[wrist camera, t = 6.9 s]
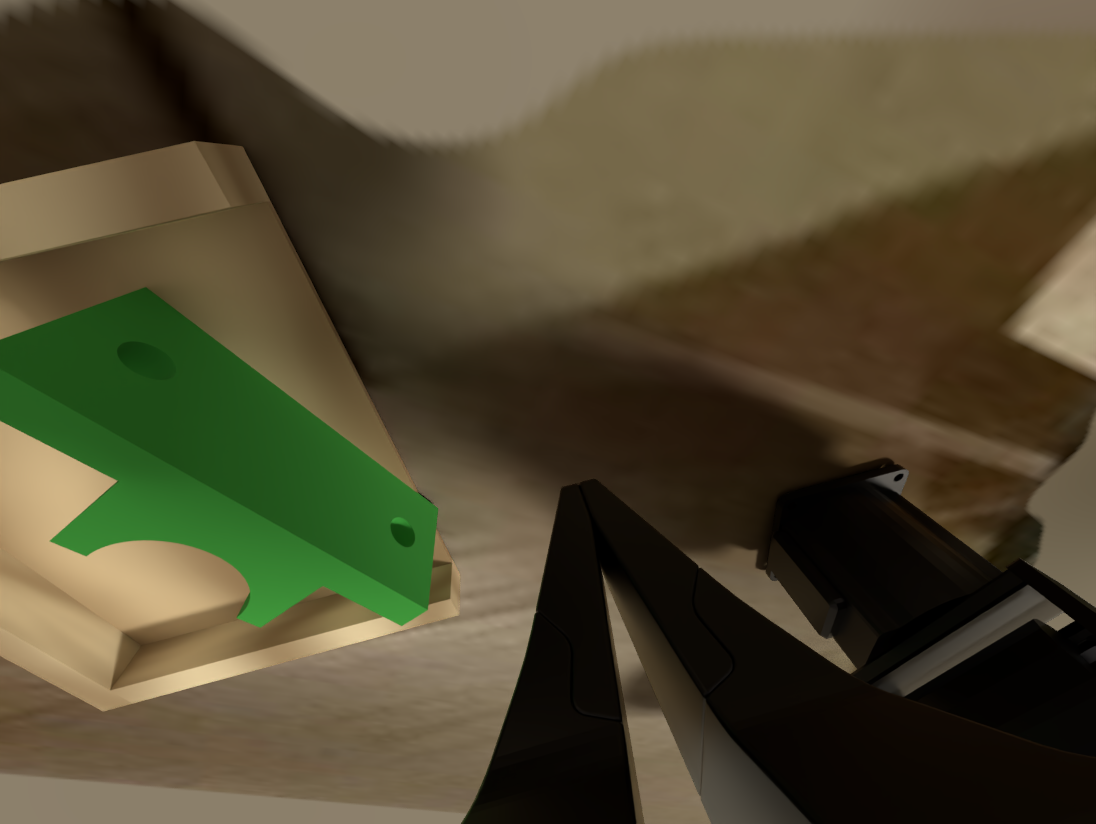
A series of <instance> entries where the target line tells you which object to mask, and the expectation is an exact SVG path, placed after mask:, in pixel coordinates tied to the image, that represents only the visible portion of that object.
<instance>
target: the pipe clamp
mask: <svg viewBox="0 0 1096 824" xmlns="http://www.w3.org/2000/svg"><path fill="white" fill-rule="evenodd" d="M0 421H1V422H3V423H5V424H7V425H9V426H11V427H13V428H15V429H17V430H19V431H21V432H23V433H25V434H27V435H29V436H30V437H32V438H34V439H36V440H38V441H40V442H42V443H44V444H46V445H48V446H50V447H52V448H54V449H56V450H58V451H60V452H62V453H64V454H66V455H68V456H70V457H72V458H74V459H75V460H77V461H79V462H81V463H83V464H85V465H87V466H89V467H91V468H93V469H95V470H97V471H99V472H101V473H103V474H105V475H107V476H109V477H111V478H113V479H115V480H117V482H116V483H115V484H113V485H112V486H111V487H110V488H109V489H108V490H107V491H106V492H104V493H103V494H102V495H101V496H100V497H99V498H98V499H96V500H95V501H94V502H93V503H92V504H91V505H90V506H88V507H87V508H86V509H85V510H84V511H83V512H82V513H81V514H79V515H78V516H77V517H76V518H75V519H74V520H73V521H71V522H70V523H69V524H68V525H67V526H66V527H65V528H63V529H62V530H61V531H60V532H59V533H58V534H57V535H56V536H54V537H53V538H52V539H51V540H50V542H52V543H54V544H57V545H59V546H62V547H64V548H67V549H69V550H72V551H74V552H76V553H79V554H81V555H84V556H88V555H89V554H91V553H92V552H94V551H96V550H98V549H100V548H103V547H105V546H109V545H112V544H116V543H121V542H129V541H142V540H146V541H165V542H172V543H178V544H183V545H187V546H191V547H194V548H197V549H200V550H203V551H206V552H208V553H211V554H213V555H215V556H217V557H219V558H221V559H223V560H224V561H226V562H227V563H229V564H230V565H232V566H233V567H234V568H235V569H237V570H238V571H239V572H240V573H241V575H242V576H243V577H244V578H245V580H246V582H247V584H248V586H249V589H250V593H249V594H248V596H247V598H246V600H245V602H244V604H243V606H242V608H241V610H240V612H239V614H238V615H237V617H236V618H237V619H240V620H242V621H245V622H247V623H250V624H252V625H254V626H257V627H259V628H261V627H262V626H264V625H265V624H267V623H268V622H270V621H271V620H273V619H274V618H276V617H277V616H279V615H280V614H282V613H283V612H285V611H286V610H288V609H289V608H291V607H292V606H294V605H295V604H297V603H298V602H300V601H301V600H303V599H304V598H306V597H307V596H309V595H310V594H312V593H313V592H315V591H316V590H318V589H319V588H321V587H322V586H324V587H326V588H328V589H330V590H332V591H334V592H336V593H338V594H340V595H342V596H344V597H345V598H347V599H349V600H351V601H353V602H355V603H357V604H359V605H361V606H363V607H365V608H367V609H369V610H371V611H373V612H375V613H377V614H379V615H381V616H383V617H385V618H387V619H389V620H390V621H392V622H394V623H396V624H398V625H400V626H403V625H404V624H406V623H408V622H409V621H411V620H413V619H414V618H416V617H418V616H419V615H421V614H422V613H424V612H426V611H427V610H428V605H429V595H430V585H431V575H432V565H433V555H434V545H435V535H436V525H437V515H438V508H437V507H436V506H434V505H433V504H432V503H430V502H429V501H428V500H426V499H425V498H424V497H422V496H421V495H420V494H418V493H417V492H415V491H414V490H413V489H411V488H410V487H409V486H408V485H406V484H405V483H404V482H402V481H401V480H400V479H398V478H397V477H396V476H394V475H393V474H392V473H390V472H389V471H388V470H386V469H385V468H384V467H383V466H381V465H380V464H379V463H377V462H376V461H375V460H373V459H372V458H371V457H369V456H368V455H367V454H365V453H364V452H363V451H361V450H360V449H359V448H358V447H356V446H355V445H354V444H352V443H351V442H350V441H348V440H347V439H346V438H344V437H343V436H342V435H340V434H339V433H338V432H336V431H335V430H334V429H333V428H331V427H330V426H329V425H327V424H326V423H325V422H323V421H322V420H321V419H319V418H318V417H317V416H315V415H314V414H313V413H311V412H310V411H309V410H307V409H306V408H305V407H304V406H302V405H301V404H300V403H298V402H297V401H296V400H294V399H293V398H292V397H290V396H289V395H288V394H286V393H285V392H284V391H282V390H281V389H280V388H279V387H277V386H276V385H275V384H273V383H272V382H271V381H269V380H268V379H267V378H265V377H264V376H263V375H261V374H260V373H259V372H257V371H256V370H255V369H254V368H252V367H251V366H250V365H248V364H247V363H246V362H244V361H243V360H242V359H240V358H239V357H238V356H236V355H235V354H234V353H232V352H231V351H230V350H228V349H227V348H226V347H225V346H223V345H222V344H221V343H219V342H218V341H217V340H215V339H214V338H213V337H211V336H210V335H209V334H207V333H206V332H205V331H203V330H202V329H201V328H199V327H198V326H197V325H196V324H194V323H193V322H192V321H190V320H189V319H188V318H186V317H185V316H184V315H182V314H181V313H180V312H178V311H177V310H176V309H174V308H173V307H172V306H170V305H169V304H168V303H166V302H165V301H164V300H163V299H161V298H160V297H159V296H157V295H156V294H155V293H153V292H152V291H151V290H149V289H148V288H147V287H144V288H141V289H139V290H136V291H133V292H130V293H128V294H125V295H122V296H119V297H116V298H114V299H111V300H108V301H105V302H103V303H100V304H97V305H94V306H92V307H89V308H86V309H83V310H81V311H78V312H75V313H72V314H69V315H67V316H64V317H61V318H58V319H56V320H53V321H50V322H47V323H45V324H42V325H39V326H36V327H34V328H31V329H28V330H25V331H22V332H20V333H17V334H14V335H11V336H9V337H6V338H3V339H0Z"/></svg>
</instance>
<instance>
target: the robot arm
mask: <svg viewBox="0 0 1096 824" xmlns="http://www.w3.org/2000/svg"><path fill="white" fill-rule="evenodd" d="M908 473H909V472H908V470H906V469H905V468H903V467H902V466H900V465H898V464H897V465H891V466H888V467H884V468H880V469H877V470H873V471H869V472H865V473H862V474H858V475H854V476H850V477H847V478H843V479H839V480H835V481H832V482H828V483H824V484H821V485H817V486H813V487H809V488H806V489H802V490H798V491H794V492H791V493H787V494H785V495H783V496H782V497H780V499H779V500H778V502H777V506H776V512H775V518H774V524H773V530H772V536H771V542H770V548H769V554H768V560H767V566H766V574H767V575H768V577H769V578H770V579H771V580H772V581H777V580H778V581H779V582H780V583H781V585H782V586H783V587H784V589H785V590H786V591H787V593H788V594H789V595H790V597H791V598H792V599H793V601H794V602H795V603H796V605H797V606H798V607H799V609H800V610H801V611H802V613H803V614H804V615H805V617H806V618H807V619H808V621H809V622H810V623H811V625H812V626H813V627H814V629H815V630H816V631H817V633H818V634H819V635H820V636H822V637H824V638H826V639H828V638H832V637H833V638H834V640H835V641H836V642H837V643H838V645H839V646H840V647H841V649H842V650H843V651H844V653H845V654H846V655H847V656H848V658H849V659H850V660H851V662H852V663H853V664H854V665H855V667H856V668H857V670H856V671H854V672H853V673H851V674H849V673H847V672H846V671H844V670H842V669H841V668H839V667H838V666H836V665H835V664H833V663H832V662H830V661H829V660H827V659H826V658H824V657H823V656H821V655H820V654H818V653H817V652H815V651H814V650H812V649H811V648H810V647H808V646H807V645H805V644H804V643H802V642H801V641H799V640H798V639H796V638H795V637H793V636H792V635H791V634H789V633H788V632H786V631H785V630H783V629H782V628H780V627H779V626H777V625H776V624H774V623H773V622H772V621H770V620H769V619H767V618H766V617H764V616H763V615H761V614H760V613H759V612H757V611H756V610H754V609H753V608H752V607H750V606H749V605H747V604H746V603H745V602H743V601H742V600H740V599H739V598H738V597H736V596H735V595H734V594H733V593H731V592H730V591H729V590H728V589H726V588H725V587H724V586H723V585H721V584H720V583H719V582H717V581H716V580H715V579H714V578H713V577H711V576H710V575H709V574H708V573H707V572H706V571H704V570H703V569H702V568H699V567H698V565H697V564H696V563H695V562H694V561H692V560H691V559H690V558H689V557H688V556H686V555H685V554H684V553H683V552H682V551H680V550H679V549H678V548H677V547H676V546H675V545H673V544H672V543H671V542H670V541H669V540H667V539H666V538H665V537H664V536H663V535H661V534H660V533H659V532H658V531H657V530H656V529H654V528H653V527H652V526H651V525H650V524H648V523H647V522H646V521H645V520H644V519H643V518H641V517H640V516H639V515H638V514H637V513H635V512H634V511H633V510H632V509H631V508H629V507H628V506H627V505H626V504H625V503H624V502H622V501H621V500H620V499H619V498H618V497H616V496H615V495H614V494H613V493H612V492H610V491H609V490H608V489H607V488H606V487H605V486H603V485H602V484H601V483H600V482H599V481H597V480H596V479H591V480H587V481H583V482H580V484H579V485H578V484H572V485H568V486H564V487H562V489H561V492H560V497H559V501H558V506H557V511H556V516H555V521H554V525H553V530H552V535H551V540H550V544H549V549H548V554H547V559H546V564H545V568H544V573H543V578H542V583H541V588H540V592H539V597H538V602H537V607H536V612H537V613H535V615H534V620H533V625H532V630H531V634H530V638H529V642H528V646H527V650H526V654H525V658H524V661H523V665H522V668H521V671H520V674H519V678H518V681H517V684H516V687H515V690H514V693H513V696H512V699H511V702H510V705H509V708H508V711H507V714H506V717H505V720H504V723H503V726H502V729H501V732H500V735H499V738H498V741H497V743H496V746H495V749H494V752H493V755H492V758H491V761H490V764H489V767H488V769H487V772H486V775H485V777H484V780H483V782H482V784H481V787H480V789H479V791H478V793H477V796H476V798H475V800H474V802H473V804H472V806H471V808H470V809H469V811H468V813H467V815H466V817H465V818H464V820H463V821H462V823H461V824H645V823H644V817H643V813H642V806H641V800H640V794H639V788H638V782H637V776H636V770H635V764H634V758H633V752H632V746H631V740H630V734H629V728H628V723H627V717H626V711H625V705H624V699H623V693H622V687H621V681H620V675H619V669H618V663H617V657H616V651H615V645H614V639H613V634H612V628H611V622H610V616H609V610H608V604H607V598H606V592H605V586H604V581H603V575H604V577H605V580H606V582H607V585H608V587H609V589H610V592H611V594H612V596H613V598H614V601H615V603H616V605H617V608H618V610H619V612H620V615H621V617H622V619H623V621H624V624H625V626H626V628H627V631H628V633H629V635H630V638H631V640H632V642H633V644H634V647H635V649H636V651H637V654H638V656H639V658H640V661H641V663H642V665H643V667H644V670H645V672H646V674H647V677H648V679H649V681H650V684H651V686H652V688H653V690H654V693H655V695H656V697H657V700H658V702H659V704H660V707H661V709H662V711H663V713H664V716H665V718H666V720H667V723H668V725H669V727H670V730H671V732H672V734H673V736H674V739H675V741H676V743H677V746H678V748H679V750H680V753H681V755H682V757H683V759H684V762H685V764H686V766H687V769H688V771H689V773H690V776H691V778H692V780H693V782H694V785H695V787H696V789H697V792H698V794H699V795H700V796H701V801H702V803H703V806H704V808H705V810H706V813H707V815H708V817H709V819H710V822H711V824H1096V607H1094V606H1093V605H1091V604H1090V603H1088V602H1087V601H1085V600H1084V599H1083V598H1081V597H1080V596H1078V595H1077V594H1075V593H1074V592H1072V591H1071V590H1070V589H1068V588H1067V587H1065V586H1064V585H1062V584H1061V583H1059V582H1058V581H1056V580H1054V579H1053V578H1051V577H1049V576H1048V575H1046V574H1045V573H1043V572H1041V571H1040V570H1038V569H1036V568H1035V567H1033V566H1032V565H1030V564H1028V563H1027V562H1025V561H1024V560H1022V559H1020V558H1018V559H1017V560H1015V561H1014V562H1012V563H1011V564H1009V565H1008V566H1006V568H1007V569H1008V570H1006V571H1005V572H1001V571H1000V570H999V569H997V568H996V567H995V566H993V565H992V564H991V563H989V562H988V561H987V560H986V559H984V558H983V557H982V556H980V555H979V554H978V553H976V552H975V551H974V550H972V549H971V548H970V547H968V546H967V545H966V544H964V543H963V542H962V541H960V540H959V539H958V538H956V537H955V536H954V535H952V534H951V533H950V532H949V531H947V530H946V529H945V528H943V527H942V526H941V525H939V524H938V523H937V522H935V521H934V520H933V519H931V518H930V517H929V516H927V515H926V514H925V513H923V512H922V511H921V510H919V509H918V508H917V507H915V506H914V505H913V504H912V503H910V502H909V501H908V500H906V499H905V498H904V497H902V496H901V492H902V490H903V487H904V484H905V482H906V479H907V477H908ZM601 569H602V570H601ZM602 572H603V575H602ZM1062 613H1066V614H1067V615H1068V616H1070V617H1071V618H1072V619H1074V620H1075V621H1074V622H1072V623H1070V624H1069V625H1067V626H1065V627H1064V628H1062V629H1060V630H1059V631H1057V630H1055V629H1054V628H1052V627H1051V626H1049V625H1047V624H1045V623H1047V622H1049V621H1050V620H1052V619H1054V618H1055V617H1057V616H1059V615H1060V614H1062Z"/></svg>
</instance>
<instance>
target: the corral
mask: <svg viewBox="0 0 1096 824" xmlns="http://www.w3.org/2000/svg"><path fill="white" fill-rule="evenodd" d="M144 287H147V288H148V289H149V290H151V291H152V292H153V293H155V294H156V295H157V296H159V297H160V298H161V299H163V300H164V301H165V302H166V303H168V304H169V305H170V306H172V307H173V308H174V309H176V310H177V311H178V312H180V313H181V314H182V315H184V316H185V317H186V318H188V319H189V320H190V321H192V322H193V323H194V324H196V325H197V326H198V327H199V328H201V329H202V330H203V331H205V332H206V333H207V334H209V335H210V336H211V337H213V338H214V339H215V340H217V341H218V342H219V343H221V344H222V345H223V346H225V347H226V348H227V349H228V350H230V351H231V352H232V353H234V354H235V355H236V356H238V357H239V358H240V359H242V360H243V361H244V362H246V363H247V364H248V365H250V366H251V367H252V368H254V369H255V370H256V371H257V372H259V373H260V374H261V375H263V376H264V377H265V378H267V379H268V380H269V381H271V382H272V383H273V384H275V385H276V386H277V387H279V388H280V389H281V390H282V391H284V392H285V393H286V394H288V395H289V396H290V397H292V398H293V399H294V400H296V401H297V402H298V403H300V404H301V405H302V406H304V407H305V408H306V409H307V410H309V411H310V412H311V413H313V414H314V415H315V416H317V417H318V418H319V419H321V420H322V421H323V422H325V423H326V424H327V425H329V426H330V427H331V428H333V429H334V430H335V431H336V432H338V433H339V434H340V435H342V436H343V437H344V438H346V439H347V440H348V441H350V442H351V443H352V444H354V445H355V446H356V447H358V448H359V449H360V450H361V451H363V452H364V453H365V454H367V455H368V456H369V457H371V458H372V459H373V460H375V461H376V462H377V463H379V464H380V465H381V466H383V467H384V468H385V469H386V470H388V471H389V472H390V473H392V474H393V475H394V476H396V477H397V478H398V479H400V480H401V481H402V482H404V483H405V484H406V485H408V486H409V487H410V488H411V489H413V490H414V491H415V492H417V493H418V491H417V489H416V487H415V485H414V483H413V481H412V479H411V477H410V475H409V473H408V471H407V469H406V467H405V465H404V463H403V461H402V459H401V457H400V455H399V453H398V451H397V449H396V447H395V445H394V443H393V441H392V440H391V438H390V436H389V434H388V432H387V430H386V428H385V426H384V424H383V422H382V420H381V418H380V416H379V414H378V412H377V410H376V408H375V406H374V404H373V402H372V400H371V398H370V396H369V394H368V392H367V390H366V388H365V386H364V384H363V382H362V380H361V378H360V376H359V375H358V373H357V371H356V369H355V367H354V365H353V363H352V361H351V359H350V357H349V355H348V353H347V351H346V349H345V347H344V345H343V343H342V341H341V339H340V337H339V335H338V333H337V331H336V329H335V327H334V325H333V323H332V321H331V319H330V317H329V315H328V313H327V311H326V310H325V308H324V306H323V304H322V302H321V300H320V298H319V296H318V294H317V292H316V290H315V288H314V286H313V284H312V282H311V280H310V278H309V276H308V274H307V272H306V270H305V268H304V266H303V264H302V262H301V260H300V258H299V256H298V254H297V252H296V250H295V248H294V246H293V245H292V243H291V241H290V239H289V237H288V235H287V233H286V231H285V229H284V227H283V225H282V223H281V221H280V219H279V217H278V215H277V213H276V211H275V209H274V207H273V205H272V203H271V201H270V199H269V197H268V195H267V193H266V191H265V189H264V187H263V185H262V183H261V181H260V180H259V178H258V176H257V174H256V172H255V170H254V168H253V166H252V164H251V162H250V160H249V158H248V156H247V154H246V152H245V150H244V148H243V146H236V145H226V144H217V143H208V142H198V141H192V142H188V143H183V144H179V145H174V146H170V147H165V148H161V149H156V150H152V151H147V152H143V153H138V154H134V155H129V156H125V157H120V158H115V159H111V160H106V161H102V162H97V163H93V164H88V165H84V166H79V167H75V168H70V169H66V170H61V171H57V172H52V173H48V174H43V175H39V176H34V177H30V178H25V179H21V180H16V181H12V182H7V183H3V184H0V339H3V338H6V337H9V336H11V335H14V334H17V333H20V332H22V331H25V330H28V329H31V328H34V327H36V326H39V325H42V324H45V323H47V322H50V321H53V320H56V319H58V318H61V317H64V316H67V315H69V314H72V313H75V312H78V311H81V310H83V309H86V308H89V307H92V306H94V305H97V304H100V303H103V302H105V301H108V300H111V299H114V298H116V297H119V296H122V295H125V294H128V293H130V292H133V291H136V290H139V289H141V288H144ZM116 482H117V480H115V479H113V478H111V477H109V476H107V475H105V474H103V473H101V472H99V471H97V470H95V469H93V468H91V467H89V466H87V465H85V464H83V463H81V462H79V461H77V460H75V459H74V458H72V457H70V456H68V455H66V454H64V453H62V452H60V451H58V450H56V449H54V448H52V447H50V446H48V445H46V444H44V443H42V442H40V441H38V440H36V439H34V438H32V437H30V436H29V435H27V434H25V433H23V432H21V431H19V430H17V429H15V428H13V427H11V426H9V425H7V424H5V423H3V422H1V421H0V656H1V657H3V658H5V659H7V660H9V661H11V662H13V663H14V664H16V665H18V666H20V667H22V668H24V669H26V670H27V671H29V672H31V673H33V674H35V675H37V676H39V677H40V678H42V679H44V680H46V681H48V682H50V683H52V684H53V685H55V686H57V687H59V688H61V689H63V690H65V691H66V692H68V693H70V694H72V695H74V696H76V697H78V698H80V699H81V700H83V701H85V702H87V703H89V704H91V705H93V706H94V707H96V708H98V709H100V710H102V711H106V710H110V709H114V708H118V707H121V706H125V705H129V704H132V703H136V702H140V701H143V700H147V699H151V698H154V697H158V696H162V695H165V694H169V693H173V692H177V691H180V690H184V689H188V688H191V687H195V686H199V685H202V684H206V683H210V682H213V681H217V680H221V679H225V678H228V677H232V676H236V675H239V674H243V673H247V672H250V671H254V670H258V669H261V668H265V667H269V666H273V665H276V664H280V663H284V662H287V661H291V660H295V659H298V658H302V657H306V656H309V655H313V654H317V653H321V652H324V651H328V650H332V649H335V648H339V647H343V646H346V645H350V644H354V643H357V642H361V641H365V640H369V639H372V638H376V637H380V636H383V635H387V634H391V633H394V632H398V631H402V630H405V629H409V628H413V627H416V626H420V625H424V624H428V623H431V622H435V621H439V620H442V619H446V618H450V617H453V616H457V615H459V605H460V573H459V571H458V570H457V568H456V566H455V564H454V562H453V560H452V558H451V556H450V554H449V552H448V550H447V548H446V546H445V544H444V542H443V540H442V538H441V536H440V534H439V532H438V530H437V528H436V535H435V545H434V555H433V565H432V575H431V585H430V595H429V605H428V610H427V611H426V612H424V613H422V614H421V615H419V616H418V617H416V618H414V619H413V620H411V621H409V622H408V623H406V624H404V625H403V626H400V625H398V624H396V623H394V622H392V621H390V620H389V619H387V618H385V617H383V616H381V615H379V614H377V613H375V612H373V611H371V610H369V609H367V608H365V607H363V606H361V605H359V604H357V603H355V602H353V601H351V600H349V599H347V598H345V597H344V596H342V595H340V594H338V593H336V592H334V591H332V590H330V589H328V588H326V587H324V586H322V587H321V588H319V589H318V590H316V591H315V592H313V593H312V594H310V595H309V596H307V597H306V598H304V599H303V600H301V601H300V602H298V603H297V604H295V605H294V606H292V607H291V608H289V609H288V610H286V611H285V612H283V613H282V614H280V615H279V616H277V617H276V618H274V619H273V620H271V621H270V622H268V623H267V624H265V625H264V626H262V627H261V628H259V627H257V626H254V625H252V624H250V623H247V622H245V621H242V620H240V619H237V618H236V617H237V615H238V614H239V612H240V610H241V608H242V606H243V604H244V602H245V600H246V598H247V596H248V594H249V593H250V589H249V586H248V584H247V582H246V580H245V578H244V577H243V576H242V575H241V573H240V572H239V571H238V570H237V569H235V568H234V567H233V566H232V565H230V564H229V563H227V562H226V561H224V560H223V559H221V558H219V557H217V556H215V555H213V554H211V553H208V552H206V551H203V550H200V549H197V548H194V547H191V546H187V545H183V544H178V543H172V542H165V541H146V540H142V541H129V542H121V543H116V544H112V545H109V546H105V547H103V548H100V549H98V550H96V551H94V552H92V553H91V554H89V555H88V556H84V555H81V554H79V553H76V552H74V551H72V550H69V549H67V548H64V547H62V546H59V545H57V544H54V543H52V542H50V540H51V539H52V538H53V537H54V536H56V535H57V534H58V533H59V532H60V531H61V530H62V529H63V528H65V527H66V526H67V525H68V524H69V523H70V522H71V521H73V520H74V519H75V518H76V517H77V516H78V515H79V514H81V513H82V512H83V511H84V510H85V509H86V508H87V507H88V506H90V505H91V504H92V503H93V502H94V501H95V500H96V499H98V498H99V497H100V496H101V495H102V494H103V493H104V492H106V491H107V490H108V489H109V488H110V487H111V486H112V485H113V484H115V483H116ZM418 494H419V493H418Z"/></svg>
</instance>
